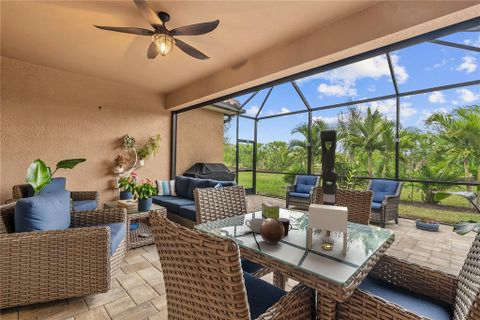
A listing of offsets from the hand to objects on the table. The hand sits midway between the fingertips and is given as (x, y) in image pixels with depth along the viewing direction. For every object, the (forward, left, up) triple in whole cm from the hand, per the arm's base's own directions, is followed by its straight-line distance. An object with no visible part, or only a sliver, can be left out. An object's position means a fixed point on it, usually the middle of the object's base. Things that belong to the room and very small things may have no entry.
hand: (328, 224), depth 155 cm
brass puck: (+15, +19, -7) cm, 26 cm away
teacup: (+46, -19, -7) cm, 50 cm away
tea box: (+26, -38, -7) cm, 46 cm away
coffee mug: (+30, -7, -7) cm, 31 cm away
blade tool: (+4, +5, -7) cm, 10 cm away
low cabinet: (+16, +20, -7) cm, 26 cm away
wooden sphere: (+44, +4, -7) cm, 44 cm away
